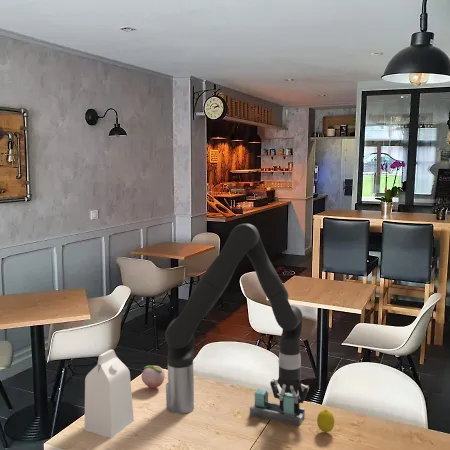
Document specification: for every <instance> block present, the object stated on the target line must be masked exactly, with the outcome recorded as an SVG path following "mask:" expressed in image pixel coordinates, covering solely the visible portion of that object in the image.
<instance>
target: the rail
mask: <svg viewBox="0 0 450 450" xmlns="http://www.w3.org/2000/svg"><path fill="white" fill-rule="evenodd" d="M305 410H306V409H305V408H304V407H300V409H299V411H298V412H297V414H296V415H291V414H286V413H284V411H281V409H280V402H273V401H269V392H268V390H267V389H262V388H257V389H256V390H255V392H254V404H253V405H251V406H250V407H249V416H250V417H254V418H259V419H264V420H269V421H274V422H278V423H283V424H288V425H293V426H298V427H300V426H301V424H302V422H303V421H304V418H305V417H306V416H305V415H306V414H305V413H306V411H305Z"/></svg>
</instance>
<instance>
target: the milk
mask: <svg viewBox="0 0 450 450" xmlns="http://www.w3.org/2000/svg"><path fill="white" fill-rule="evenodd" d="M131 382H132V381H131V372H130V370H129V368H128V367H127V366H126V364H125V363H123V362H122V361H121V359H119V357H118V356H117V354H116V352H115V350H114V349H108V350H107V351H105V352H103V353H101V354H99V355H98V360H97V364H96V365H95V366H94V367H93V368H92V369H91V370H90V371H89V372H88V373H87V374H86V376H85V379H84V431H86V432H89V433H94V434H96V435H99V436H103V437H106V438H110V439H113V438H114V437H115V436H117V435H118V434H119V433H121V431H123V430H125V428H126V427H129V425H131V424H132V423H133V422H134V421H135V418H134V417H135V416H134V408H133V407H134V406H133V395H132V394H133V393H132V383H131Z"/></svg>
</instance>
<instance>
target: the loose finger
mask: <svg viewBox="0 0 450 450" xmlns="http://www.w3.org/2000/svg"><path fill="white" fill-rule="evenodd" d="M294 403H295V401H294V398H293V396H292V394H290V393H285V395H284V397H283V409H284V413H286V414H291V415H296V414H295V413H294Z"/></svg>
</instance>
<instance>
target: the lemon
mask: <svg viewBox="0 0 450 450" xmlns="http://www.w3.org/2000/svg"><path fill="white" fill-rule="evenodd" d="M316 421H317V422H316V423H317V426H318V429H319V431H320V430H321V432H324V434H327V433H329V432H331V431H332V430H333V429H334V427H335V417H334V415H333V413H332V412H331V411H330V410H328V409H323V410H320V411H319V413H318V415H317V420H316Z"/></svg>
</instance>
